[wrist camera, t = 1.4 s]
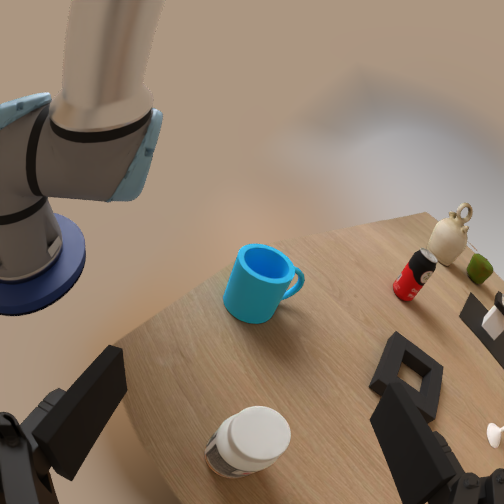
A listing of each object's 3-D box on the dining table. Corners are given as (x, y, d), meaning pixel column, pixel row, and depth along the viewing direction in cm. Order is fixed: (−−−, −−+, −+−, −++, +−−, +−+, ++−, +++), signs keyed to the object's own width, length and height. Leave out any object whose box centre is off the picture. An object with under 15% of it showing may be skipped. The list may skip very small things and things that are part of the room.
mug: (230, 325, 37) (248, 283, 32) (217, 283, 43) (230, 241, 38) (302, 319, 42) (326, 282, 37) (283, 283, 48) (302, 246, 43)
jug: (421, 239, 98) (450, 189, 84) (447, 257, 94) (477, 209, 80) (425, 254, 85) (459, 198, 71) (454, 274, 82) (489, 221, 68)
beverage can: (389, 293, 56) (418, 252, 49) (392, 281, 61) (418, 242, 54) (410, 307, 54) (440, 268, 48) (411, 294, 59) (438, 257, 52)
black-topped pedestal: (507, 373, 43) (538, 342, 36) (458, 316, 59) (487, 281, 51) (510, 336, 60) (532, 310, 53) (470, 292, 75) (490, 264, 68)
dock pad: (368, 387, 34) (378, 378, 33) (388, 339, 44) (396, 330, 42) (424, 425, 29) (435, 418, 28) (434, 374, 39) (443, 366, 37)
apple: (467, 269, 95) (481, 249, 88) (483, 287, 86) (498, 267, 80) (460, 269, 89) (474, 248, 83) (477, 289, 80) (493, 268, 74)
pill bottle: (262, 474, 21) (306, 459, 15) (207, 480, 19) (231, 472, 14) (251, 429, 25) (288, 396, 20) (199, 432, 23) (218, 401, 18)
